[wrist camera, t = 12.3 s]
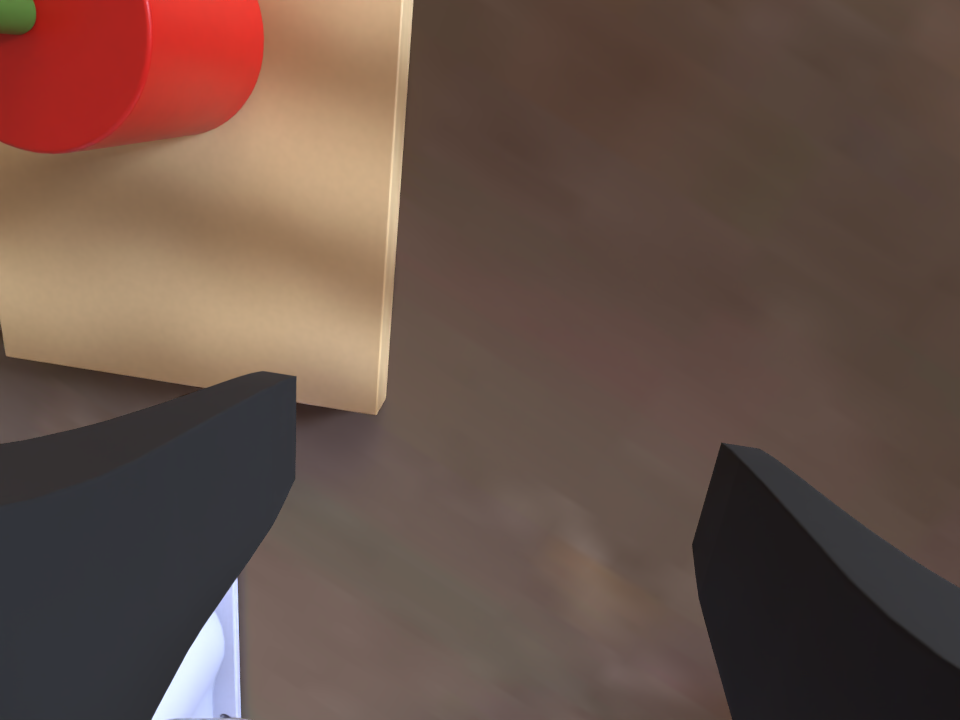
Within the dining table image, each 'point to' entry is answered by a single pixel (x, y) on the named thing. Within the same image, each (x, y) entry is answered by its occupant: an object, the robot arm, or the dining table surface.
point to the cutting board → (229, 225)
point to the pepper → (123, 70)
